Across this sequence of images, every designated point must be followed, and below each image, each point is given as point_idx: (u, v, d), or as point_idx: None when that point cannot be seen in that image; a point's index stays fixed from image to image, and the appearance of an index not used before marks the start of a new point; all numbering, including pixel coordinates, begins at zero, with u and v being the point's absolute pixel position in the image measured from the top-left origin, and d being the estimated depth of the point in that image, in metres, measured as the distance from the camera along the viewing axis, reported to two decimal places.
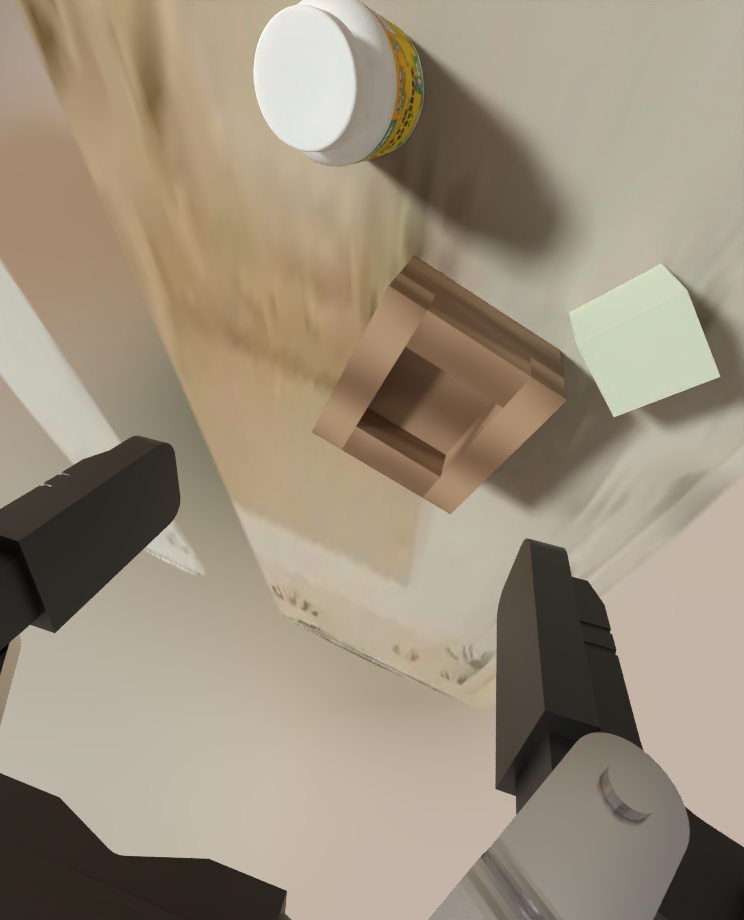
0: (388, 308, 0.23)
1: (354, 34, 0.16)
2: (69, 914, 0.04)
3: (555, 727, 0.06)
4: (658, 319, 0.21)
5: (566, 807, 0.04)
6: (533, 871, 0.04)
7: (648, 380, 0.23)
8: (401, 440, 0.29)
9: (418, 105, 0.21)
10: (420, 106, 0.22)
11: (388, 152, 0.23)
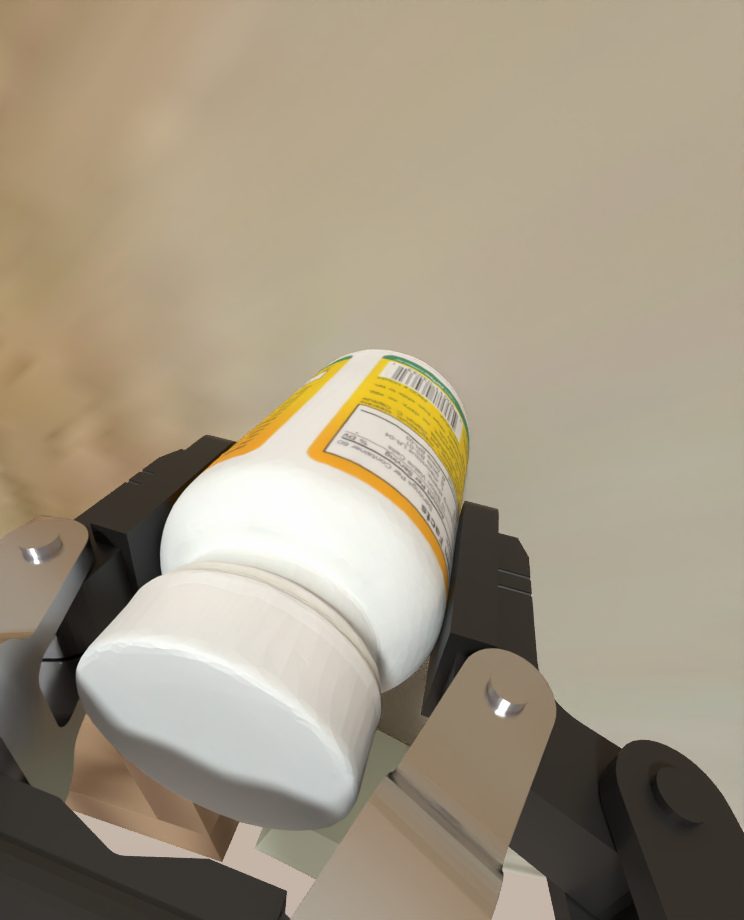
0: None
1: (385, 667, 0.07)
2: (69, 914, 0.04)
3: (461, 648, 0.06)
4: None
5: (451, 700, 0.05)
6: (435, 776, 0.05)
7: (304, 862, 0.20)
8: None
9: None
10: None
11: None
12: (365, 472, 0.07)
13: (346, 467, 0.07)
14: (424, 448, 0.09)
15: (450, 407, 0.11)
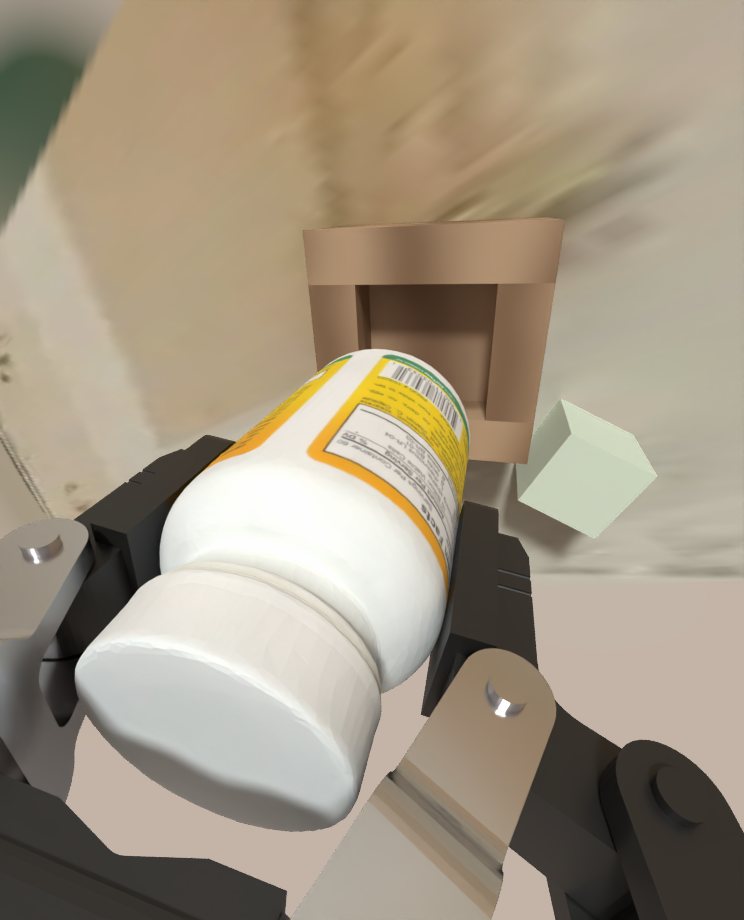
0: (535, 236, 0.17)
1: (385, 667, 0.07)
2: (69, 914, 0.04)
3: (460, 648, 0.06)
4: (623, 474, 0.23)
5: (451, 700, 0.05)
6: (435, 776, 0.05)
7: (565, 501, 0.25)
8: (365, 344, 0.23)
9: None
10: None
11: None
12: (366, 472, 0.07)
13: (346, 467, 0.07)
14: (424, 448, 0.08)
15: (450, 407, 0.11)
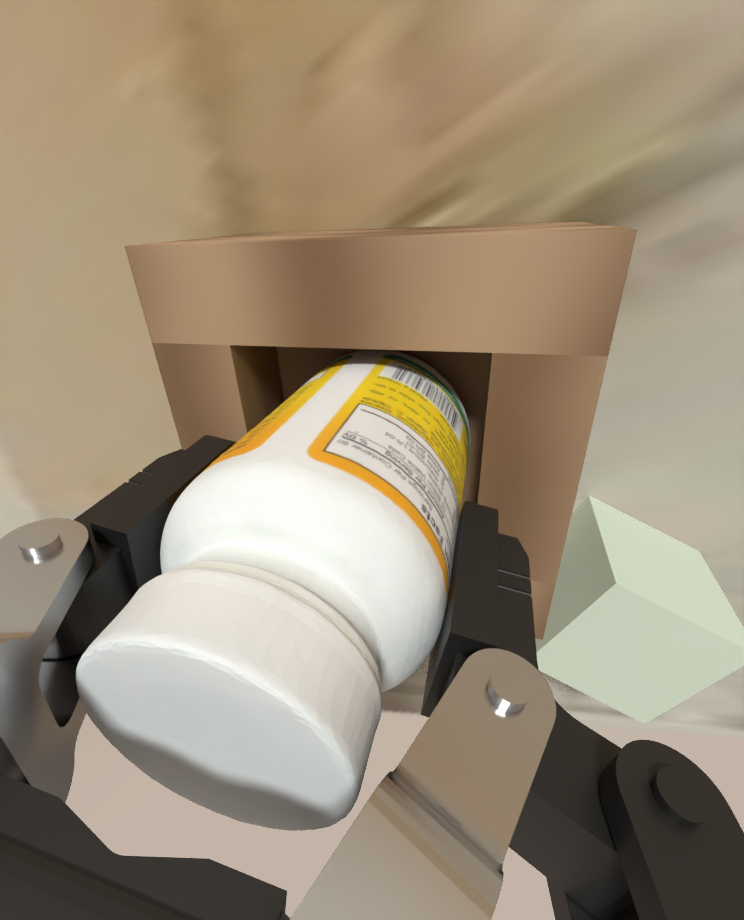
0: (569, 262, 0.08)
1: (386, 666, 0.07)
2: (69, 914, 0.04)
3: (460, 648, 0.06)
4: (700, 647, 0.14)
5: (451, 700, 0.05)
6: (435, 775, 0.05)
7: (601, 672, 0.15)
8: None
9: None
10: None
11: None
12: (366, 472, 0.07)
13: (346, 466, 0.07)
14: (424, 448, 0.09)
15: (450, 407, 0.11)
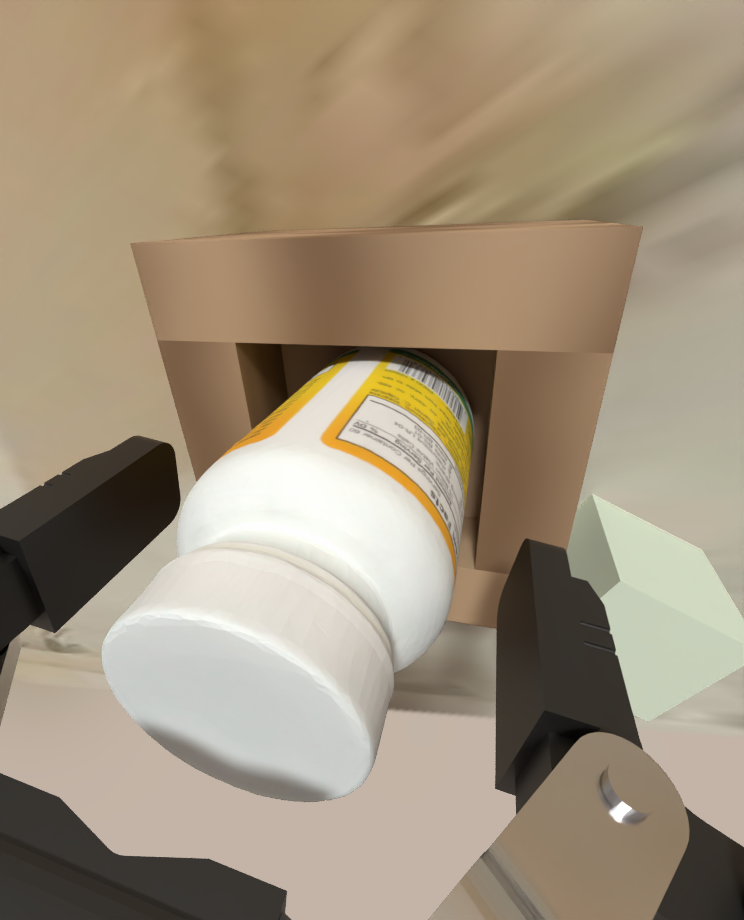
0: (575, 259, 0.08)
1: (396, 646, 0.07)
2: (69, 914, 0.04)
3: (555, 727, 0.06)
4: (704, 645, 0.14)
5: (565, 807, 0.04)
6: (533, 871, 0.04)
7: None
8: None
9: None
10: None
11: None
12: (377, 458, 0.07)
13: (358, 453, 0.07)
14: (431, 437, 0.09)
15: (455, 399, 0.11)
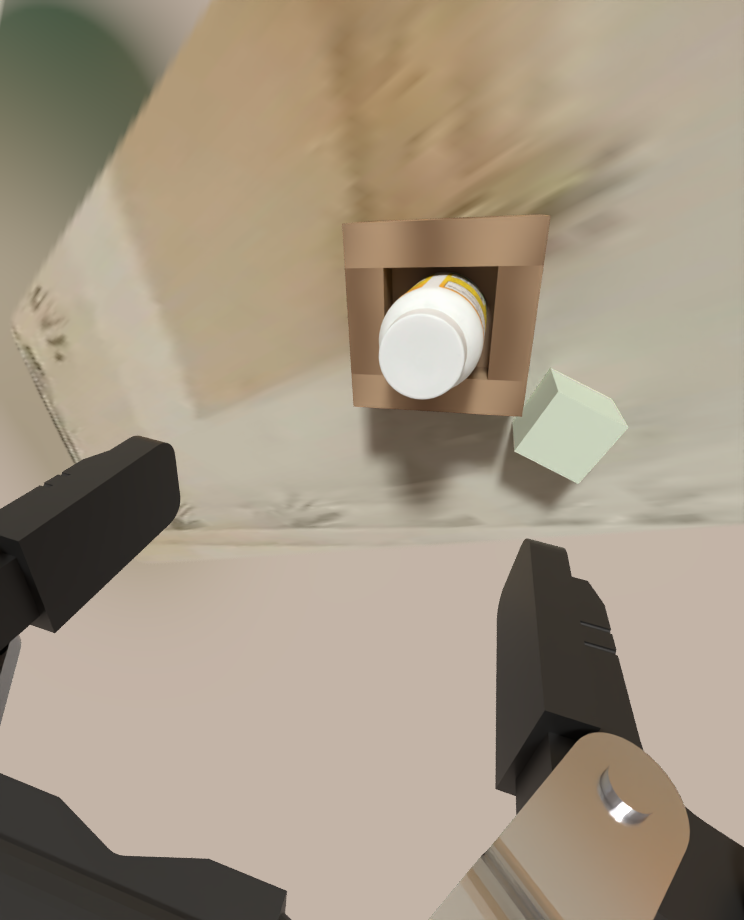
0: (527, 228, 0.22)
1: None
2: (69, 913, 0.04)
3: (555, 727, 0.06)
4: (601, 426, 0.28)
5: (566, 807, 0.04)
6: (533, 871, 0.04)
7: (554, 451, 0.30)
8: None
9: None
10: None
11: None
12: (458, 292, 0.21)
13: (452, 290, 0.21)
14: (473, 296, 0.23)
15: (479, 293, 0.25)
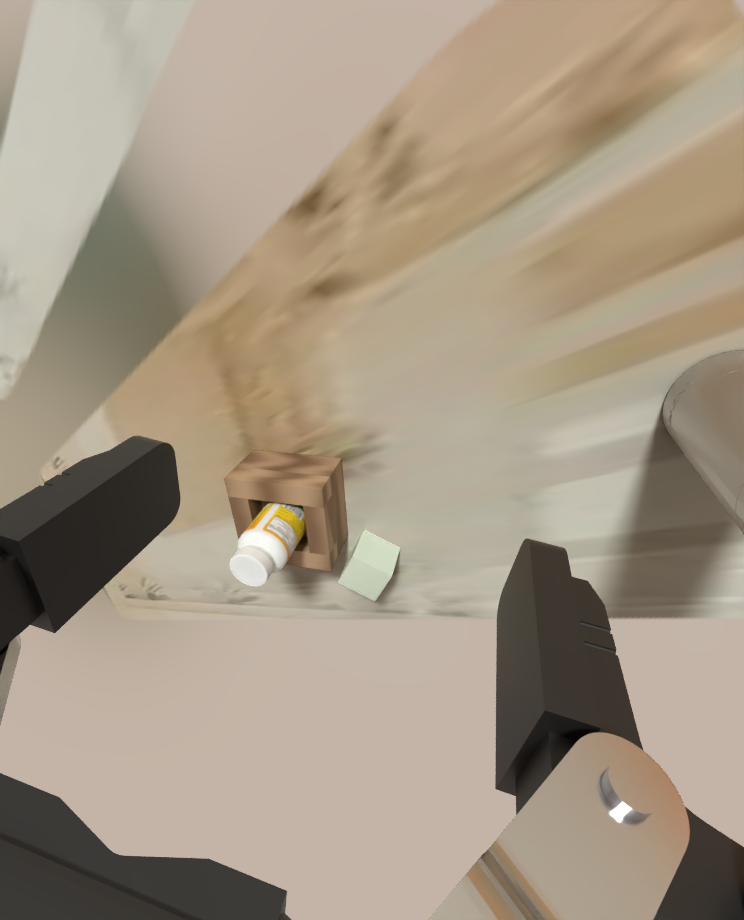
0: (312, 492, 0.44)
1: (275, 563, 0.43)
2: (69, 914, 0.04)
3: (555, 727, 0.06)
4: (378, 574, 0.50)
5: (566, 807, 0.04)
6: (533, 871, 0.04)
7: (358, 584, 0.51)
8: None
9: None
10: None
11: None
12: (272, 532, 0.43)
13: (268, 531, 0.43)
14: (286, 525, 0.44)
15: (299, 511, 0.47)
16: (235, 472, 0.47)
